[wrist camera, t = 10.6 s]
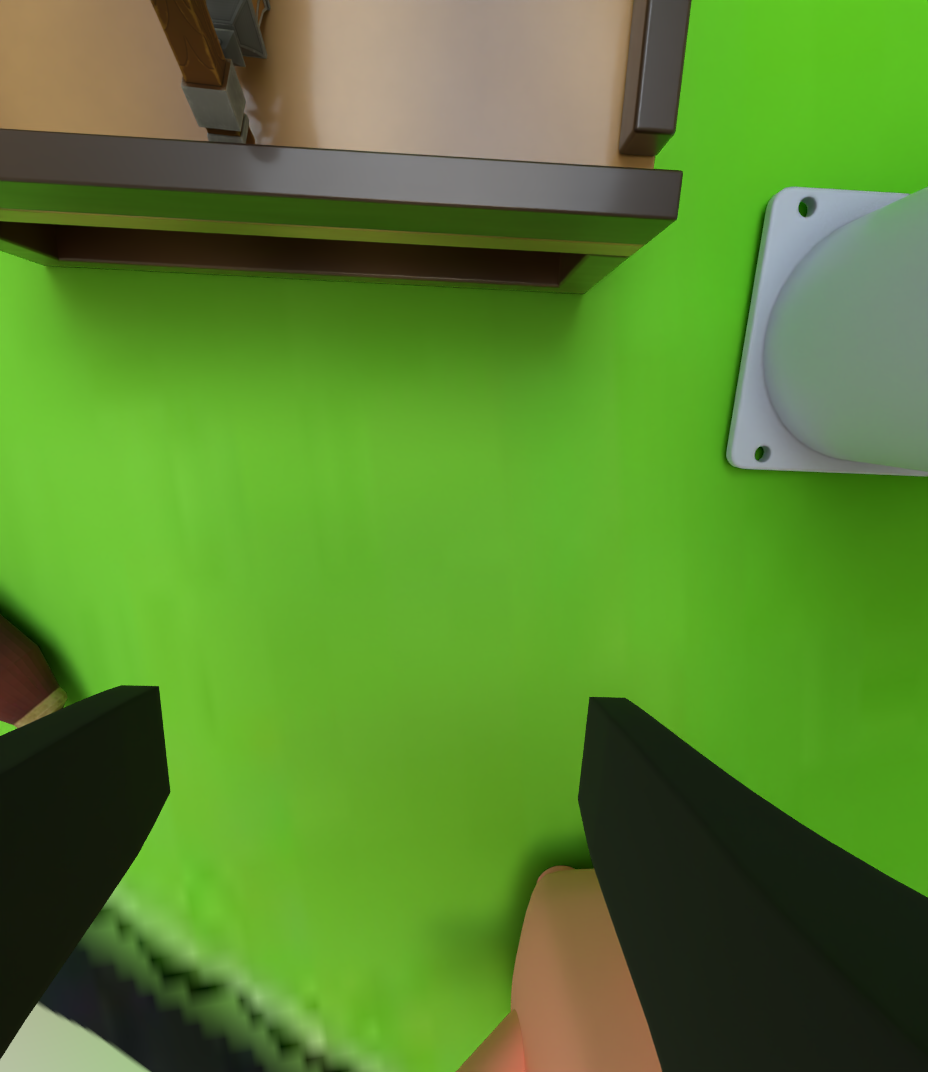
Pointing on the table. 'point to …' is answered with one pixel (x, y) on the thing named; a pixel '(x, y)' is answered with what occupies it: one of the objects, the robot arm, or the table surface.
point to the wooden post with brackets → (214, 58)
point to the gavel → (25, 679)
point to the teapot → (569, 989)
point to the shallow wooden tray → (348, 142)
